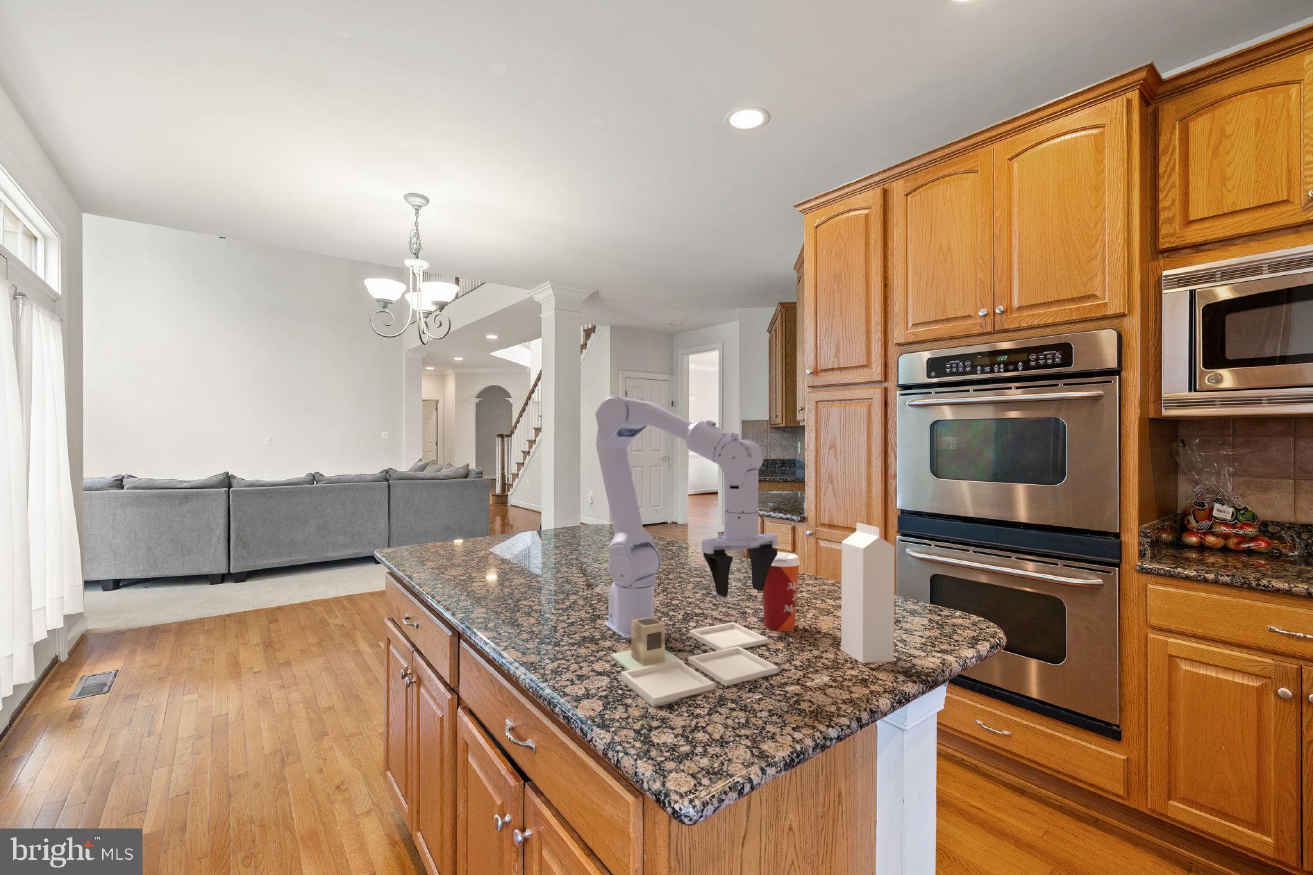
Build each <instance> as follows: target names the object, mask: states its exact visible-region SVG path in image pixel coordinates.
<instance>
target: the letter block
mask: <svg viewBox="0 0 1313 875" xmlns="http://www.w3.org/2000/svg"><path fill="white" fill-rule="evenodd" d="M630 639H631V641H630V642H631V644H630V645H631V646H630V647H631V648H630V650H631V657H632V658H633V659H635V660H636V661H637V662H639V663H640V664H642V665H648V664H652V663H657V662H661V661H665V650H666V623H665V622H664V621H662V620H660V619H658V618H656V617H655V616H654V617H648V618H642V619H636V620H632V629H631V638H630Z"/></svg>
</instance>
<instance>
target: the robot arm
mask: <svg viewBox="0 0 1313 875" xmlns="http://www.w3.org/2000/svg"><path fill="white" fill-rule="evenodd" d="M594 414H595V419H596V423H597V432H596V433H597V434H596V452H597V456H598V457H597V458H598V460H599V461H598V462H599V465H600V471H601V475H602V480H603V485H604V489H605V493H606V494H605V495H606V498H607V503H608V508H609V509H608V510H609V513H610V516H611V522H612V526H613V531H614V537H613V538H612V540H611V541H610V543H609V544H608V547H607V550H608V556H609V558H608V563H607V570H608V573H609V576H610V578H611V579H612V581H613V583H612V584H611V585H610V587H609V590H608V620H607V621H604V622H603V624H604V625H605V626H606V627H608V628H609V629H610V630H612V631H613V632H615V633H616V634H618V635H619V636H621V637H622V638H624V639H631V629H632V620H636V619H642V618H648V617H655V581H656V576H657V574H658V573H659V572H660V570H661V568H662V564H663V563H662V556H661V553H660V551H659V550H658V548H657V547H656V544H655V542H654V539H653V536H652V535H651V534H650V533H649V532H648V531H647V530H646V529H645V528H644V527H643V520H642V517H641V512H640V507H639V504H638V500H637V495H636V490H635V486H634V485H635V484H634V481H633V476H632V470H631V466H630V461H629V458H628V453H627V449H628V446H629V445H630V444H631V442H632V441H633V440H634V439H636V437H638V435H640V434H641V433H642V432H643V431H644V430H645V429H647V427H649V426H650V427H656V428H657V429H660V430H662V431H664V432H666V433H669V434H671V435H673V436H675V437H678V438H680V439H682V440H684V441H685V444H686V447H687V449H688V450H689V451H691V452H693V453H694V454H697V455H698V456H701V457H702V458H705V459H706V460H708V461H711V462H712V463H714V464H716V465H718V466H719V467H720V469H721V471H722V472H723V475H724V478H723V479H724V483H723V493H724V494H723V535H722V536H718V537H714V538H709V539H702V540H701V553H702V556H703V558H704V560H705V562H706V563H707V566H708V567H709V570H710V573H711V576H712V579H713V583H714V586H715V587H714V588H715V592H716V595H718V596H720V597H723V598H727V597H728V594H729V580H730V578H729V577H730V571H731V566H732V562H733V559H734V557H733V556H731V555H728V553H726V552H727V551H736V550H737V551H738V550H748V554H749V559H750V565H751V585H752V589H754V590H757V591H760V592H763V589H764V586H765V582H766V578H767V575H768V572H769V569H770V567H771V565H772V563H773V561H774V559H775V557H776V556H777V552H778V549H777V548H774V547H778V535H777V534H775V533H759V469H760V468H761V467H762V465H763V464H764V458H765V455H764V451H763V449H762V447H761V445H760V444H758V443H757V442H755V440H753V439H750V438H747V439H746V438H745V439H740V438H739V435H740V434H739V433H737V432H735V431H733V432H731V433H730V432H729V431H726V430H724V429H722V428H720V427H719V426H716V425H717V422H715V421H713V420H709V419H707V420H706V421H705V420H699V421H697V422H695V423H693V422H691V421H689V420H687V419H685V418H684V417H682V416H680V415H679V414H677V413H674V412H672V411H671V410H669V409H666V408H665V407H663V406H661V405H659V404H657V403H655V402H652V401H647V400H646V399H643V398H642V397H641V398H637V397H636V398H633V397H623V396H619V395H612V394H611V395H608V396H607V397H605V398H604V399H603V400H602V401H601V403H600V404H599V406H598V408H597V410H596V411H595V413H594Z"/></svg>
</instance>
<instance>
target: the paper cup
mask: <svg viewBox="0 0 1313 875" xmlns="http://www.w3.org/2000/svg"><path fill="white" fill-rule="evenodd" d="M800 565H801V561H800V560H799V556H798V555H797V554H796V553H795V554H794V553H791V552H785V551H783V552H782V551H777V556H776V557H775V559H774V561H773V563H772V565H771V567H770V569H769V572H768V575H767V578H766V582H765V586H764V589H763V591H762V606H763V622H764V628H766V629H768V630H771V631H775V632H790V631H793V630H794V629H795V625H796V612H797V611H796V610H797V600H798V599H797V596H798V584H799V582H798V581H799V566H800Z"/></svg>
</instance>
